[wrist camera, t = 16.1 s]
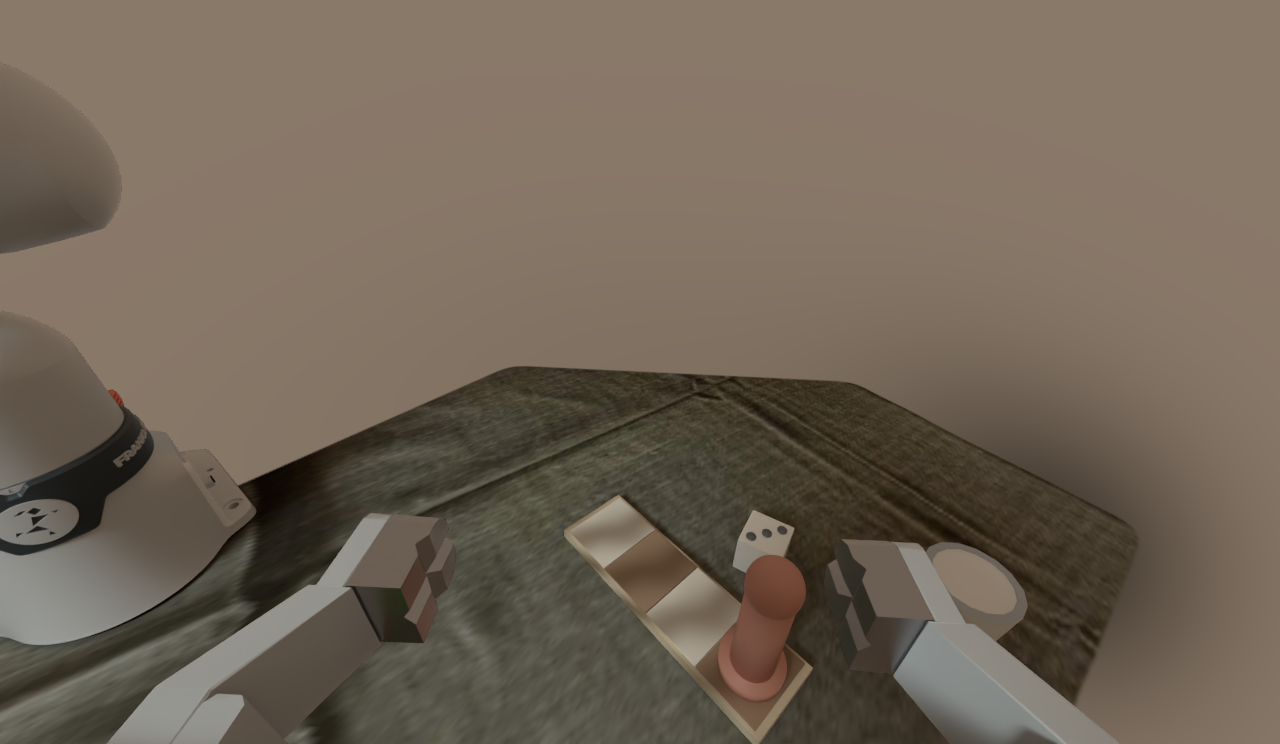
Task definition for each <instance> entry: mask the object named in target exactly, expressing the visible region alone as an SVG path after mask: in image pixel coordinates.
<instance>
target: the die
mask: <svg viewBox="0 0 1280 744" xmlns="http://www.w3.org/2000/svg"><path fill="white" fill-rule="evenodd" d="M794 529H795V528H793V527H791V526H789V525H786V524H784V523H782V522H780V521H777V520H775V519H773V518H771V517H768V516H766V515H764V514H761V513H759V512H757V511H755V510H753V511H752V513H751V515H750V517H749V519H748V521H747V523H746V525H745V527H744V529H743V531H742V533H741V535H740V537H739V539H738V542H737V547H736V552H735V556H734V561H733V567H735V568H737V569H739V570H741V571H743V572H745V573H746V572H747V569H748V568H749V566H750V565H751V563H752V562H753V561H755V560H756V559H757V558H759V557H762V556H765V555H778V556H782V557H784V558H785V557H786V555H787V551H788V548H789V545H790V542H791V538H792V535H793V532H794Z"/></svg>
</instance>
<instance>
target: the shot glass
mask: <svg viewBox="0 0 1280 744" xmlns="http://www.w3.org/2000/svg"><path fill="white" fill-rule="evenodd" d="M926 554H927V556H928V558H929V559H930V561H931V563H932V565H933V566H934V568H935V570H936V572H937V573H938V575H939V577H940V579H941V580H942V582H943V584H944V586H945V587H946V589H947V591H948V592H949V594H950V596H951V598H952V599H953V601H954V603H955V605H956V606H957V608H958V610H959V612H960V613H961V615H962V617H963V619H964V620H965V622H966V623H968V624H975V625H976V626H977V627H979V628H980V629H981V630H982V631H983V632H985V633H986V634H987V635H988V636H990V637H991V638H992V639H993V640H994V641H997V640H998V639H999V638H1000V637H1002V636H1003V635H1004V634H1005V633H1006V632H1007V631H1009V630H1010V629H1011V628H1012V627H1013V626H1015V625H1016V624H1017V623H1018V622H1019V621H1021V620H1022V619H1023V618H1024V615H1025V613H1026V610H1027V607H1028V604H1027V601H1026V597H1025V593H1024V590H1023V589H1022V587H1021V586H1020V585H1019V583H1018V582H1017V580H1016V579H1015V578H1014V576H1013V575H1012V574H1011V573H1010V572H1009V571H1008V570H1007V569H1005V568H1004V567H1003V566H1002V565H1001V564H1000V563H999V562H997V561H996V560H995V559H993V558H991V557H990V556H988V555H986V554H984V553H983V552H981V551H979V550H977V549H975V548H972V547H969V546H966V545H962V544H959V543H948V542H941V543H938V544H935V545H932V546H930V547H929V548H928V550H927V551H926Z"/></svg>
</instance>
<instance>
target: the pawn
mask: <svg viewBox="0 0 1280 744" xmlns="http://www.w3.org/2000/svg"><path fill="white" fill-rule="evenodd" d="M744 587H745V591H744V595H743V599H742V604H741V608H740V612H739V616H738V620H737V624H736V626H735V627H733V628H731V629H730V630H729V631H727V632H726V634H725V635H724V636H723V638H722V640H721V642H720V646H719V651H718V657H717V663H718V669H719V672H720V675H721V677H722V679H723V681H724V682H725V684H726V685H727V687H728V688H729V689H730V690H731V691H732V692H733V693H734V694H736V695H737V696H738V697H740V698H742V699H744V700H746V701H750V702H755V703H761V702H766V701H769V700H771V699H773V698H774V697H775V696H776V695H777V694H778V693H779V692H780V690H781V688H782V686H783V683H784V681H785V678H786V674H787V662H786V658H785V654H784V652H783V648H784V645H785V642H786V640H787V637H788V634H789V632H790V629H791V626H792V623H793V621H794V618H795V615H796V614H797V613H798V612H799V610H800V609H801V608H802V606H803V604H804V601H805V597H806V586H805V581H804V578H803V576H802V574H801V572H800V571H799V569H798V568H797V567H796V566H795V565H794V564H793V563H792V562H791V561H789V560H788V559H786V558H784V557H782V556H778V555H765V556H762V557H759V558H757V559H756V560H755V561H753V562H752V563H751V565H750V566H749V568H748V569H747V572H746V574H745V579H744Z"/></svg>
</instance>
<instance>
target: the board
mask: <svg viewBox="0 0 1280 744" xmlns="http://www.w3.org/2000/svg"><path fill="white" fill-rule="evenodd" d="M564 534H565V538H566V539H567V540H568V541H569V542H570V543H571V544H572V545H573V546H574V548H575V549H576V550H577V551H578V552H579V553H580V554H581V555H582V556H583V557H584V559H585V560H586V561H587V562H588V563H589V564H590V565H591V566H592V567H593V568H594V570H595V571H596V572H597V573H598V574H599V575H600V576H601V577H602V578H603V580H604V581H605V582H606V583H607V584H608V585H609V586H610V587H611V588H612V589H613V591H614V592H615V593H616V594H617V595H618V596H619V597H620V598H621V599H622V601H623V602H624V603H625V604H626V605H627V606H628V607H629V608H630V609H631V610H632V612H633V613H634V614H635V615H636V616H637V617H638V618H639V619H640V620H641V622H642V623H643V624H644V625H645V626H646V627H647V628H648V629H649V630H650V631H651V633H652V634H653V635H654V636H655V637H656V638H657V639H658V640H659V641H660V642H661V644H662V645H663V646H664V647H665V648H666V649H667V650H668V651H669V652H670V654H671V655H672V656H673V657H674V658H675V659H676V660H677V661H678V662H679V663H680V665H681V666H682V667H683V668H684V669H685V670H686V671H687V672H688V673H689V675H690V676H691V677H692V678H693V679H694V680H695V681H696V682H697V683H698V684H699V686H700V687H701V688H702V689H703V690H704V691H705V692H706V693H707V694H708V695H709V697H710V698H711V699H712V700H713V701H714V702H715V703H716V704H717V705H718V707H719V708H720V709H721V710H722V711H723V712H724V713H725V714H726V715H727V716H728V718H729V719H730V720H731V721H732V722H733V723H734V724H735V725H736V726H737V728H738V729H739V730H740V731H741V732H742V733H743V734H744V735H745V736H746V737H747V739H748V740H749V741H750V742H751V743H752V744H761V742H762V741H763V739H764V738H765V737H766V735H767V734H768V732H769V731H770V730H771V728H772V727H773V725H774V724H775V723H776V721H777V720H778V718H779V717H780V716H781V714H782V713H783V711H784V710H785V709H786V707H787V706H788V704H789V703H790V702H791V700H792V699H793V698H794V696H795V695H796V693H797V692H798V691H799V689H800V688H801V686H802V685H803V684H804V682H805V681H806V679H807V678H808V677H809V675H810V673H811V671H812V669H813V667H811V666H810V665H809V664H808V663H807V662H806V661H805V660H804V659H802V658H801V657H800V656H799V655H798V654H797V653H796V652H795V651H794V650H792V649H791V648H790V647H789V646H788V645H787V644H786V643H785V645H784V648H783V652H784V654H785V658H786V662H787V674H786V678H785V681H784V683H783V686H782V688H781V690H780V692H779V693H778V694H777V695H776V696H775V697H774V698H773V699H771V700H769V701H766V702H761V703H755V702H750V701H746V700H744V699H742V698H740V697H738V696H737V695H736V694H734V693H733V692H732V691H731V690H730V689H729V688H728V687H727V685H726V684H725V682H724V681H723V679H722V677H721V675H720V672H719V669H718V663H717V657H718V651H719V646H720V642H721V640H722V638H723V636H724V635H725V634H726V632H727V631H729V630H730V629H731V628H733V627H735V626H736V624H737V620H738V616H739V612H740V608H741V603H740V602H738V601H737V600H736V599H735V598H734V597H733V596H732V595H731V594H730V593H728V592H727V591H726V590H725V589H724V588H723V587H722V586H721V585H719V584H718V583H717V582H716V581H715V580H714V579H713V578H712V577H710V576H709V575H708V574H707V573H706V572H705V571H704V570H703V569H701V568H700V567H699V566H698V565H697V564H696V563H695V562H694V561H692V560H691V559H690V558H689V557H688V556H687V555H686V554H685V553H683V552H682V551H681V550H680V549H679V548H678V547H677V546H676V545H674V544H673V543H672V542H671V541H670V540H669V539H668V538H667V537H666V536H664V535H663V534H662V533H661V532H660V531H659V530H658V529H657V528H655V527H654V526H653V525H652V524H651V523H650V522H649V521H648V520H646V519H645V518H644V517H643V516H642V515H641V514H640V513H639V512H637V511H636V510H635V509H634V508H633V507H632V506H631V505H630V504H628V503H627V502H626V501H625V500H624V499H623V498H622V497H621V496H619V495H617V496H616V497H614V498H613V499H611V500H610V501H608V502H607V503H605V504H604V505H602V506H601V507H599V508H597V509H596V510H594V511H593V512H591V513H590V514H588V515H587V516H585V517H584V518H582V519H581V520H579V521H578V522H576V523H574V524H573V525H571V526H570V527H568V528H567V529H565V530H564Z"/></svg>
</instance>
